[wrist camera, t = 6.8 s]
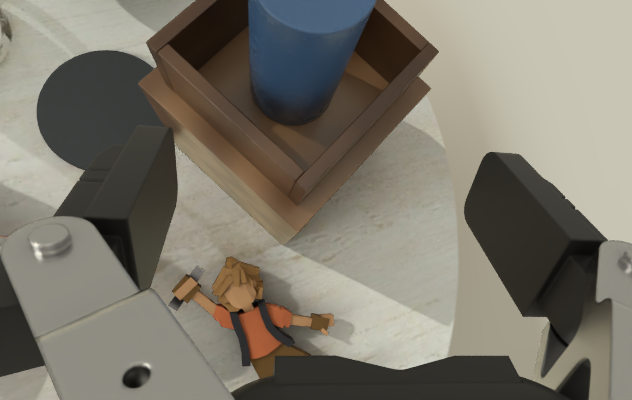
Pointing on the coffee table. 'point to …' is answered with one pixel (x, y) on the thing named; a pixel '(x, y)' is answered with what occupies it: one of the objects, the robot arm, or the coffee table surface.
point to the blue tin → (301, 53)
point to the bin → (266, 134)
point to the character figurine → (249, 314)
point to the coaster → (93, 105)
